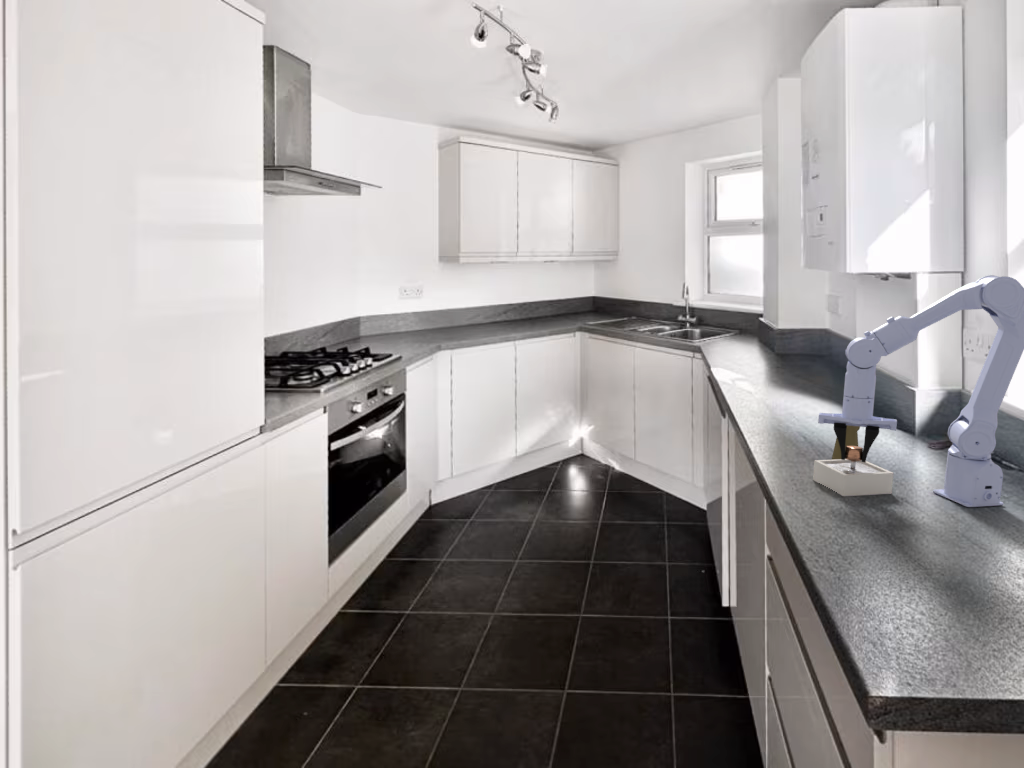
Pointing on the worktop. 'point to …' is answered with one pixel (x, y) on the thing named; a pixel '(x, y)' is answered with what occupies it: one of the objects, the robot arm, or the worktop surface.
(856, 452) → the copper knob lid
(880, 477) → the white shallow open box
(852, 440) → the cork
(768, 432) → the worktop surface
